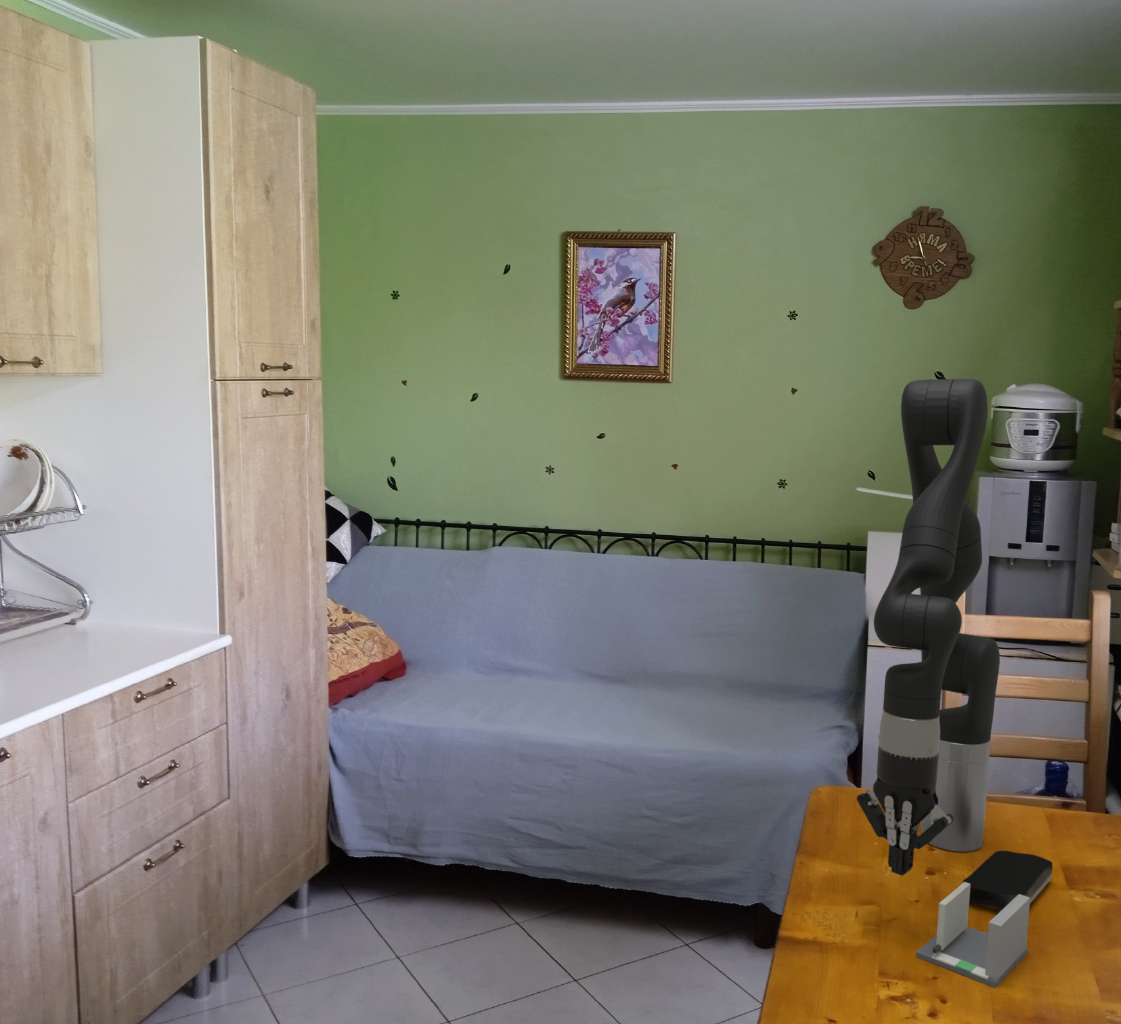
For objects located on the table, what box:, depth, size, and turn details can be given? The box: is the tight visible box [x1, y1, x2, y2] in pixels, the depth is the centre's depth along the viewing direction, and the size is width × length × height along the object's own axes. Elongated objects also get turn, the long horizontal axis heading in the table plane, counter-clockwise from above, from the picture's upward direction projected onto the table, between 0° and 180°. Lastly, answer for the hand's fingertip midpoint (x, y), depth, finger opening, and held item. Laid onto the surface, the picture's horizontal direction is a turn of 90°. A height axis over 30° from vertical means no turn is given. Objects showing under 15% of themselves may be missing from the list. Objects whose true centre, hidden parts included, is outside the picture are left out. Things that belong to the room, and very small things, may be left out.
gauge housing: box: [915, 894, 1031, 988], centre depth 139 cm, size 11×10×8 cm
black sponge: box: [962, 850, 1053, 911], centre depth 157 cm, size 16×8×4 cm, turn 140°
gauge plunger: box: [933, 882, 970, 954], centre depth 141 cm, size 9×1×6 cm, turn 138°
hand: (899, 871), depth 145 cm, fingers closed
